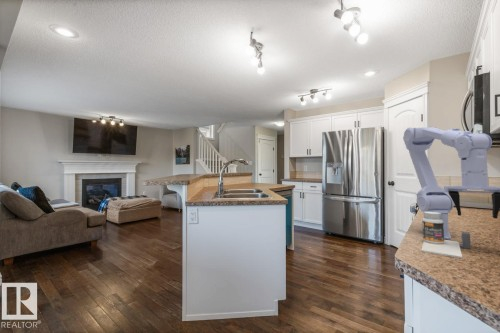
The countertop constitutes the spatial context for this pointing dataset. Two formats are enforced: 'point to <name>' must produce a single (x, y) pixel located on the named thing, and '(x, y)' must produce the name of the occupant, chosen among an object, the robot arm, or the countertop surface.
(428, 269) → the countertop surface
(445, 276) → the countertop surface
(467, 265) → the countertop surface
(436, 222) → the pill bottle
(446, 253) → the pull board
